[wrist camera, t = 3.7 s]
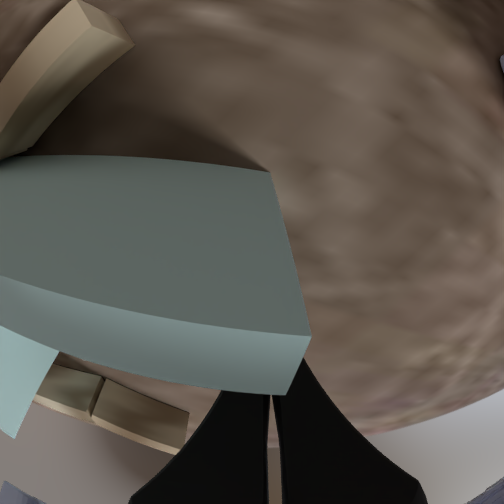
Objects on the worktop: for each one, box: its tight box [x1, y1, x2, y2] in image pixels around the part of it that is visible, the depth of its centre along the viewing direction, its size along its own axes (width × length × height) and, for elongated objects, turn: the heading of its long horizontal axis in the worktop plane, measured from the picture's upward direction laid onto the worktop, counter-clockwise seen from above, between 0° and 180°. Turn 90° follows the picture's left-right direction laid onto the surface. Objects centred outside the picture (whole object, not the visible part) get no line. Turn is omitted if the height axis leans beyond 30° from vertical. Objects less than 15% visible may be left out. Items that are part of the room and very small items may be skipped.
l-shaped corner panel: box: [0, 155, 312, 439], centre depth 8 cm, size 12×12×8 cm
